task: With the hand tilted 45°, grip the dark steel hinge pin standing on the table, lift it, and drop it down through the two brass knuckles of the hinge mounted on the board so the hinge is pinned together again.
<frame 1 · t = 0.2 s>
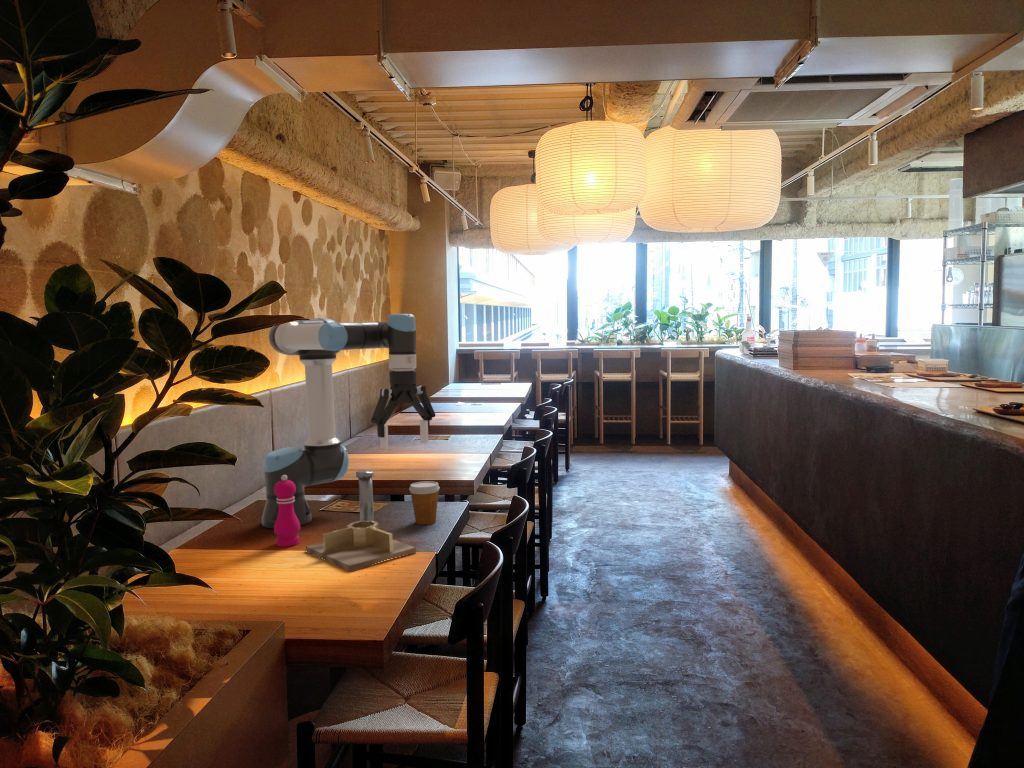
hand: (404, 446, 199), 28 cm above the table, tool pointing down, fingers open, 13 cm apart
hinge: (364, 547, 199), resting on mounting board
pin: (367, 531, 215), on the table
pepper mill: (288, 544, 205), on the table
mounting board: (360, 552, 195), on the table
disposable coffee cup: (425, 522, 223), on the table
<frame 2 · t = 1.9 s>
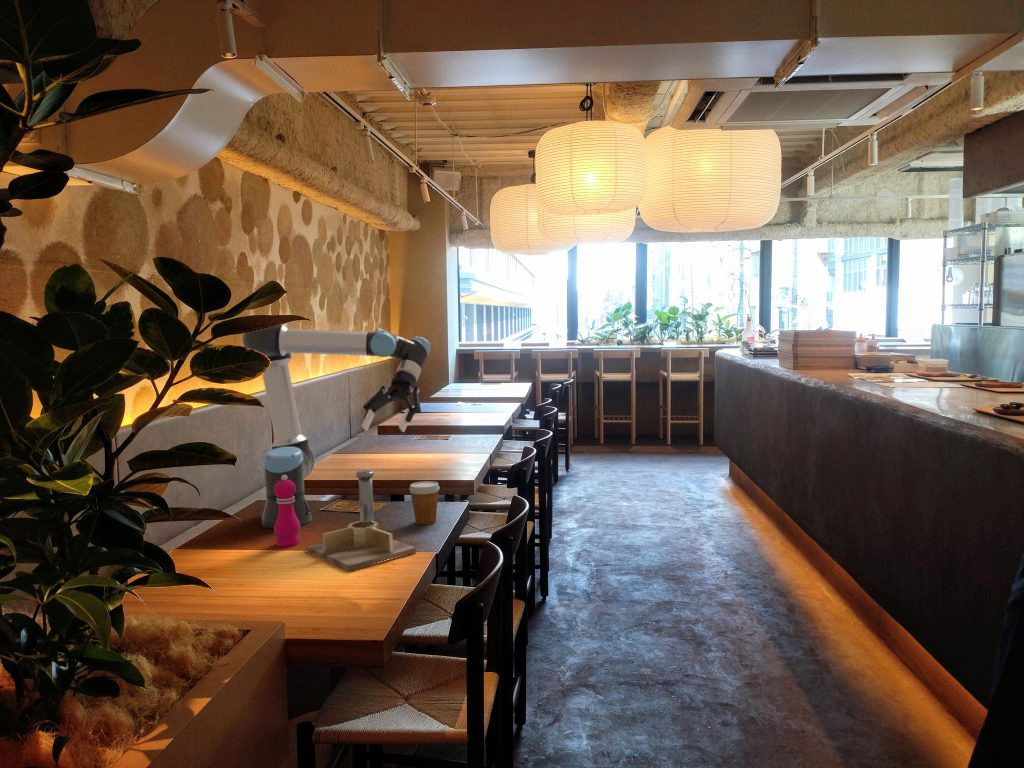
hand: (382, 429, 222), 30 cm above the table, tool tilted 45°, fingers open, 13 cm apart
nothing on the table moved.
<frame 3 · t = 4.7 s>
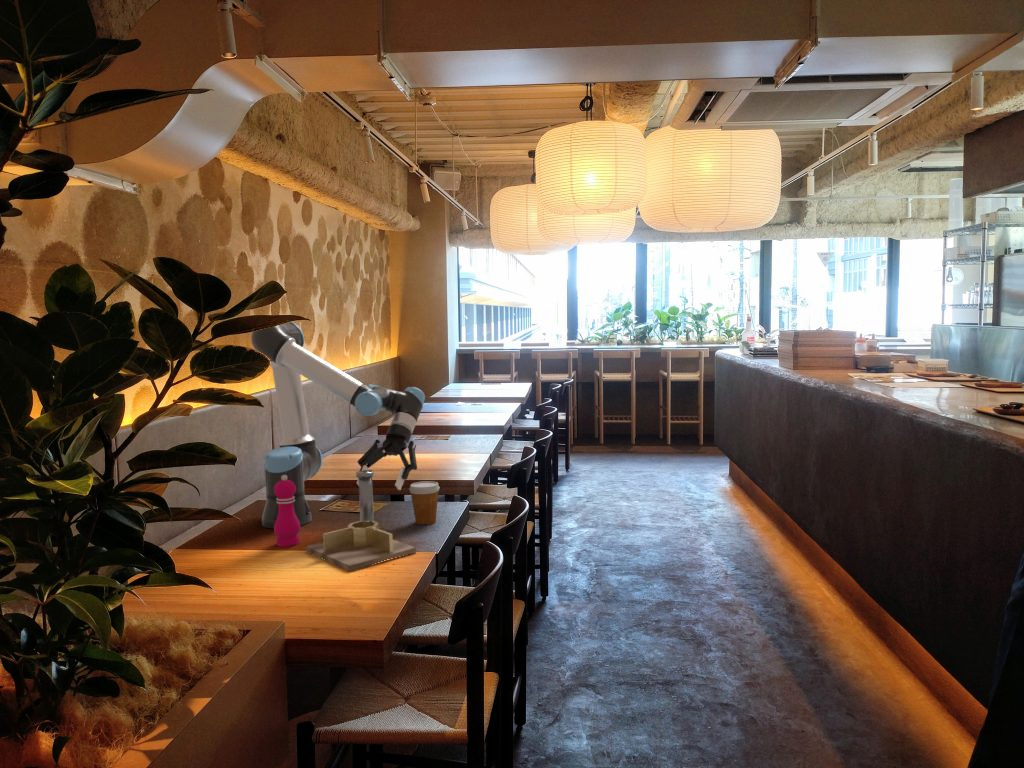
hand: (378, 486, 217), 13 cm above the table, tool tilted 45°, fingers open, 13 cm apart
nothing on the table moved.
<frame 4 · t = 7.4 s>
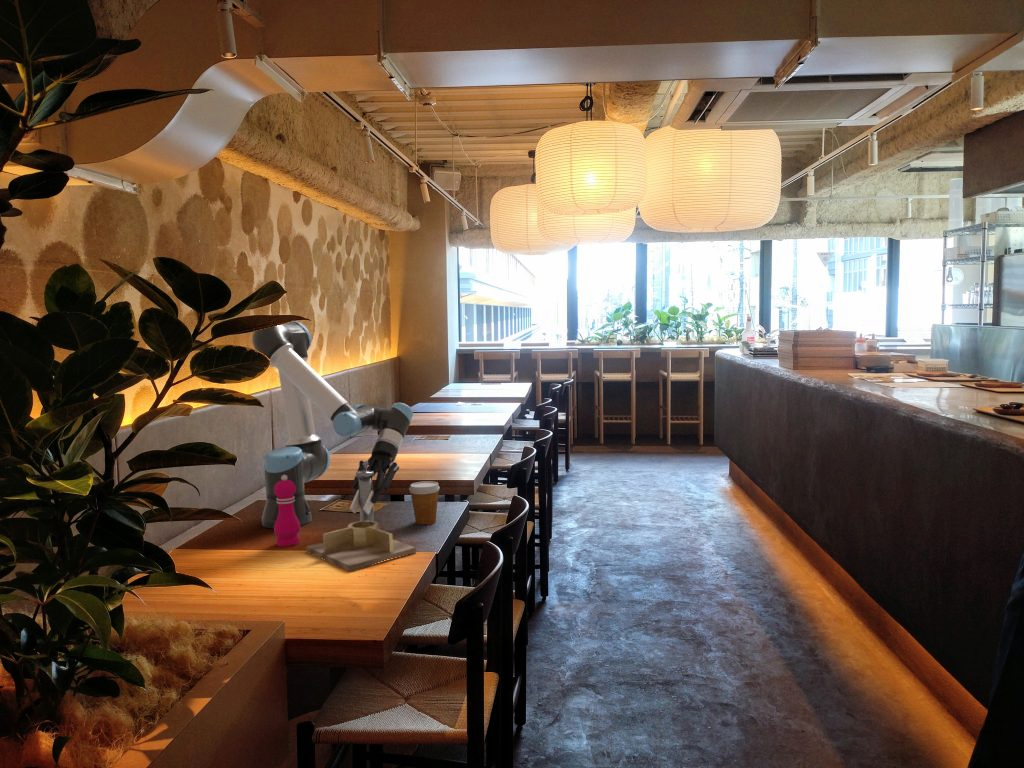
hand: (359, 511, 211), 7 cm above the table, tool tilted 45°, fingers closed on pin, 4 cm apart
pin: (367, 531, 215), on the table, touching gripper
everything else where it was.
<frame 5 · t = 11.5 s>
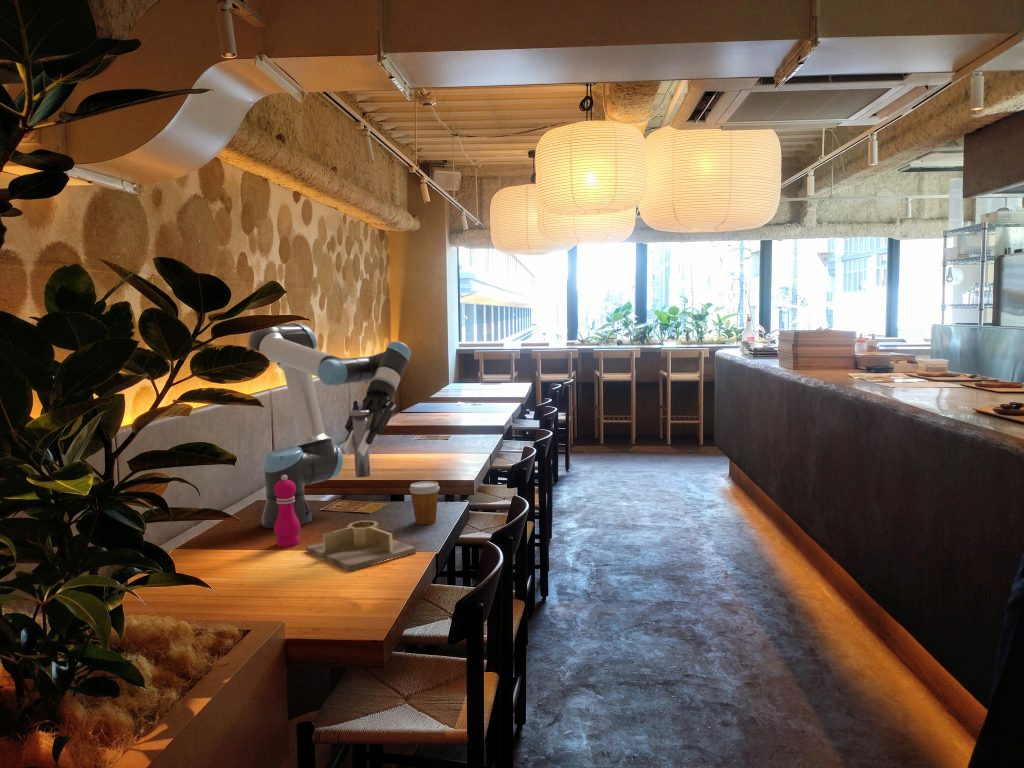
hand: (353, 452, 194), 27 cm above the table, tool tilted 45°, fingers closed on pin, 4 cm apart
pin: (363, 475, 198), point 20 cm above the table, touching gripper
everything else where it was.
when the fingers open (10 cm above the table, at t = 15.8 s): pin drops 1 cm, resting on mounting board.
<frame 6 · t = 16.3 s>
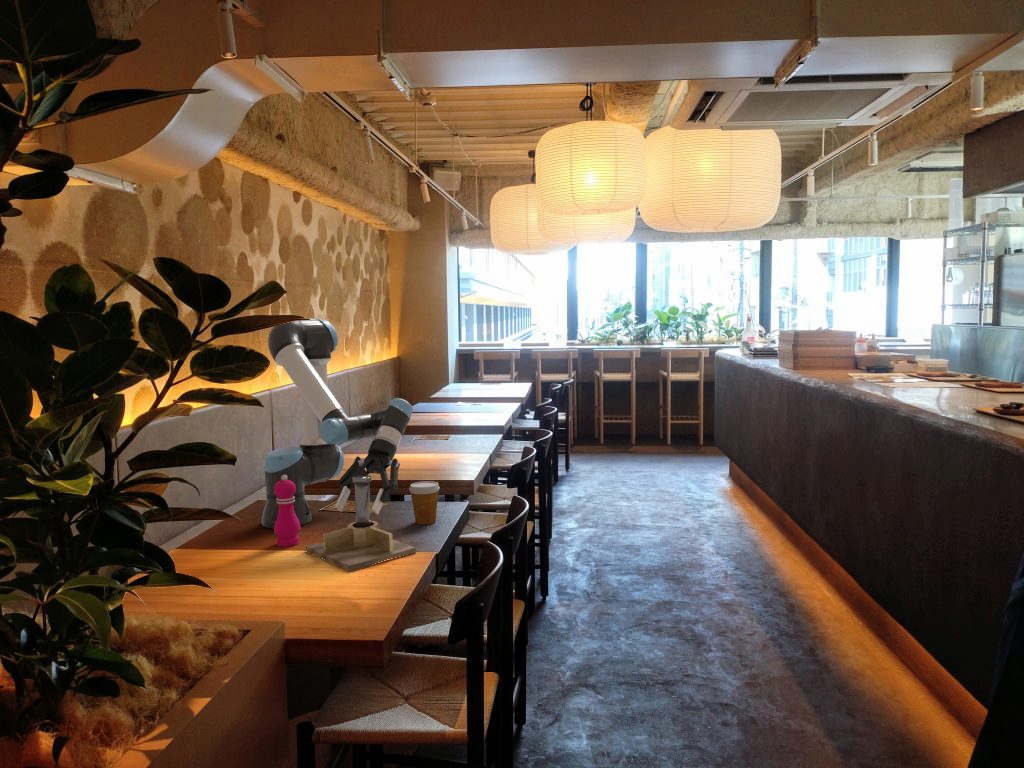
hand: (356, 510, 196), 11 cm above the table, tool tilted 45°, fingers open, 11 cm apart
pin: (364, 541, 199), point 2 cm above the table, touching mounting board
everything else where it was.
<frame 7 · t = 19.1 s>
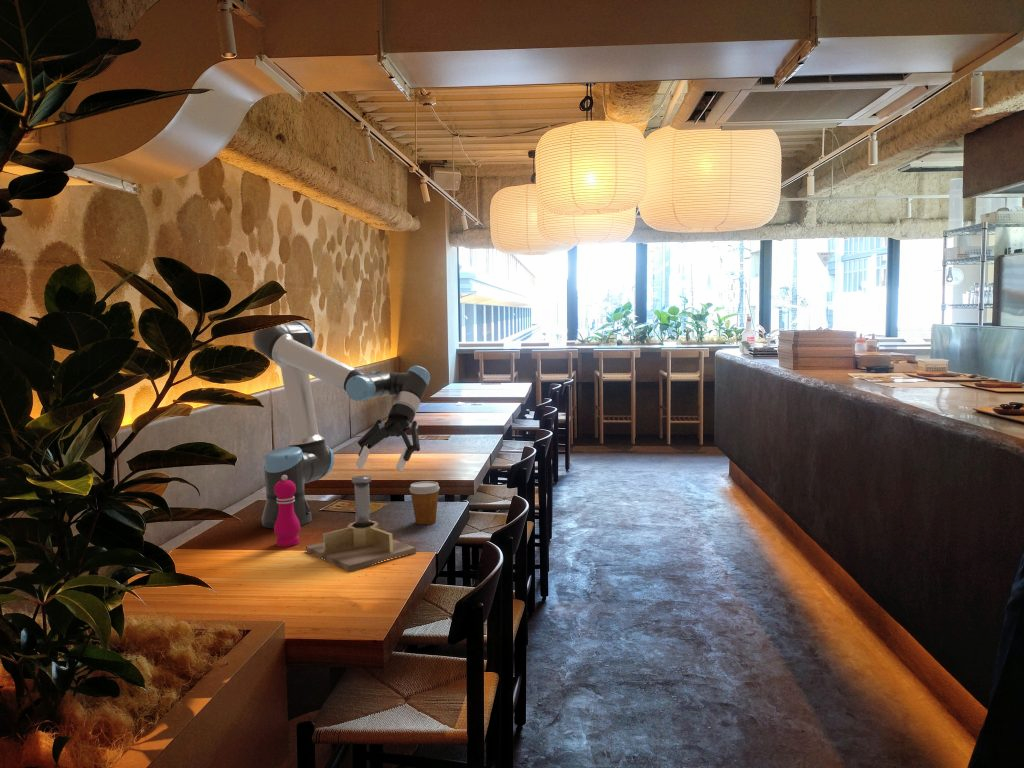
hand: (378, 468, 205), 21 cm above the table, tool tilted 45°, fingers open, 13 cm apart
nothing on the table moved.
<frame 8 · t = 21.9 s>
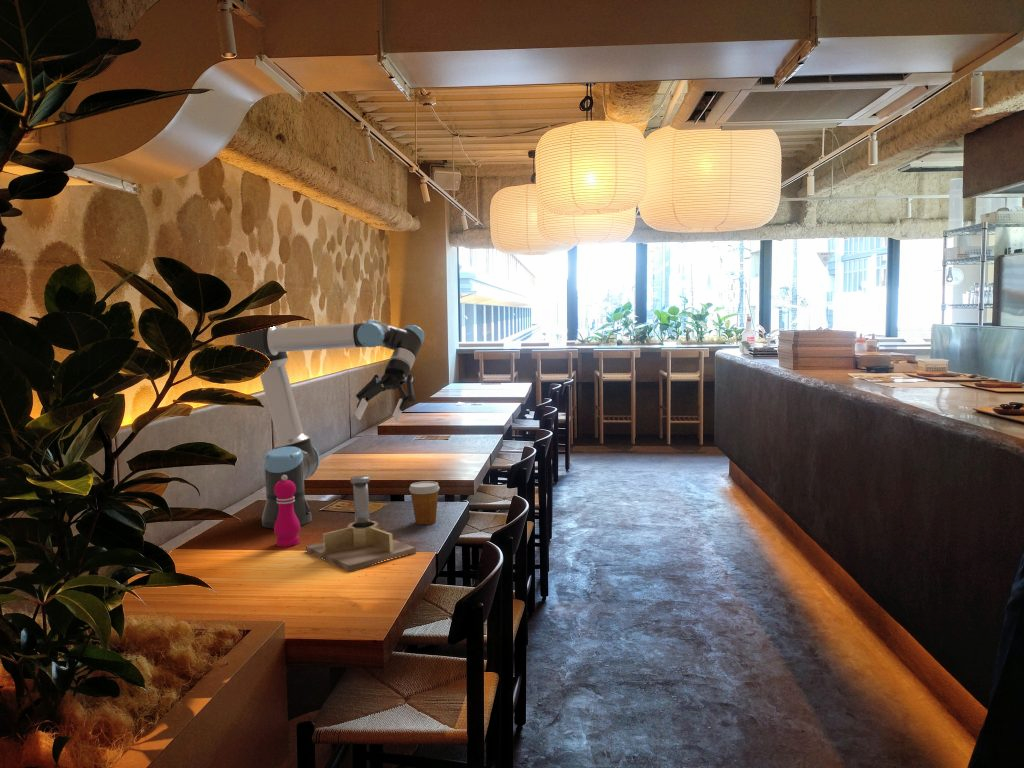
hand: (376, 417, 217), 34 cm above the table, tool tilted 45°, fingers open, 13 cm apart
nothing on the table moved.
at the end: pin 0.1 cm off-centre on the hinge, point 1.6 cm above the hinge's base; pin tilted 2°; the gripper is holding nothing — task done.
